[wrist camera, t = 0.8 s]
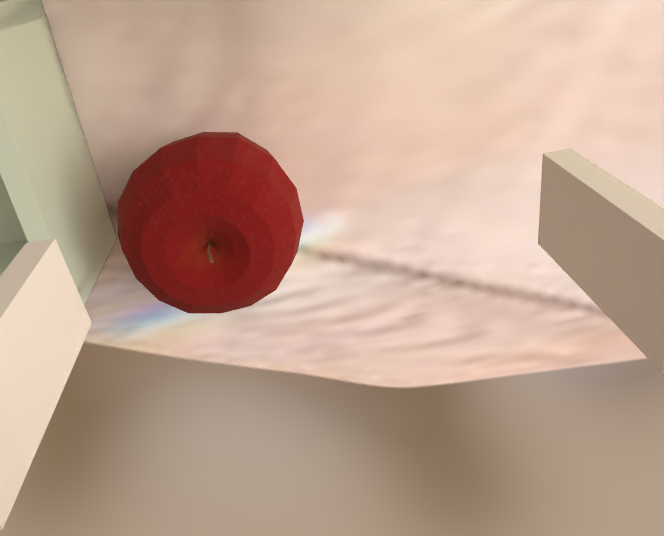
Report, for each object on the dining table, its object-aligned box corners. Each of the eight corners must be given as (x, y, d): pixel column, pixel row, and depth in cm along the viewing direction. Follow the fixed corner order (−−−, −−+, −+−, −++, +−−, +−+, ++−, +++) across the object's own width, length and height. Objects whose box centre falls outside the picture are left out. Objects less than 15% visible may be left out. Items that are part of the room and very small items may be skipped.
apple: (228, 72, 37) (219, 117, 26) (326, 194, 41) (349, 272, 31) (104, 173, 39) (52, 251, 29) (210, 278, 44) (197, 376, 33)
